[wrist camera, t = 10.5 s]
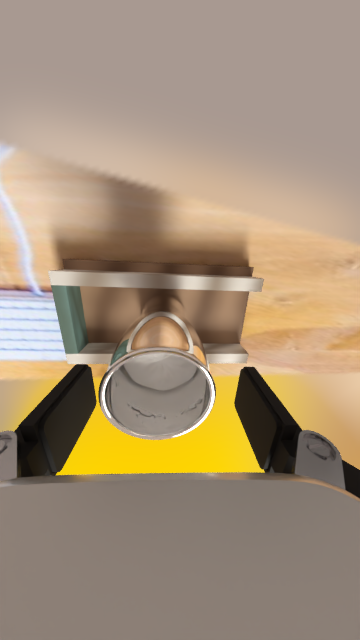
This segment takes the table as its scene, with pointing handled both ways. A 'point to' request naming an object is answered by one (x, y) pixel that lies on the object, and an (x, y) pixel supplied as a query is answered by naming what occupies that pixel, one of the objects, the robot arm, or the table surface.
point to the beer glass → (158, 375)
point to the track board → (135, 290)
